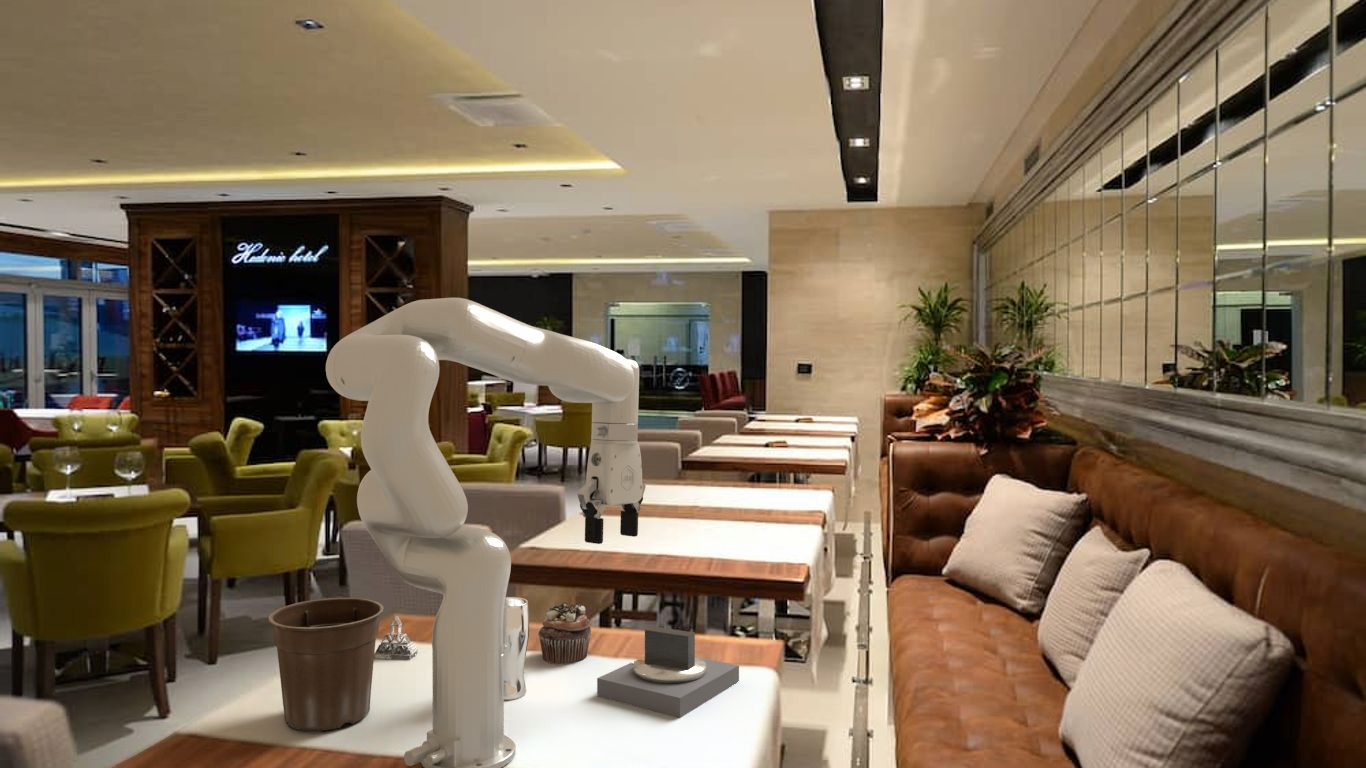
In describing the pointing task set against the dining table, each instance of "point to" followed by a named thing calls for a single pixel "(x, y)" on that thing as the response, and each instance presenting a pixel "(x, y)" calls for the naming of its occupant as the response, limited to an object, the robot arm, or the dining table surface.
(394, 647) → the house of cards
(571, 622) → the cupcake
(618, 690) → the control panel
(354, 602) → the plant pot
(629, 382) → the robot arm
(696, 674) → the dial
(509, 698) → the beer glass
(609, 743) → the dining table surface
